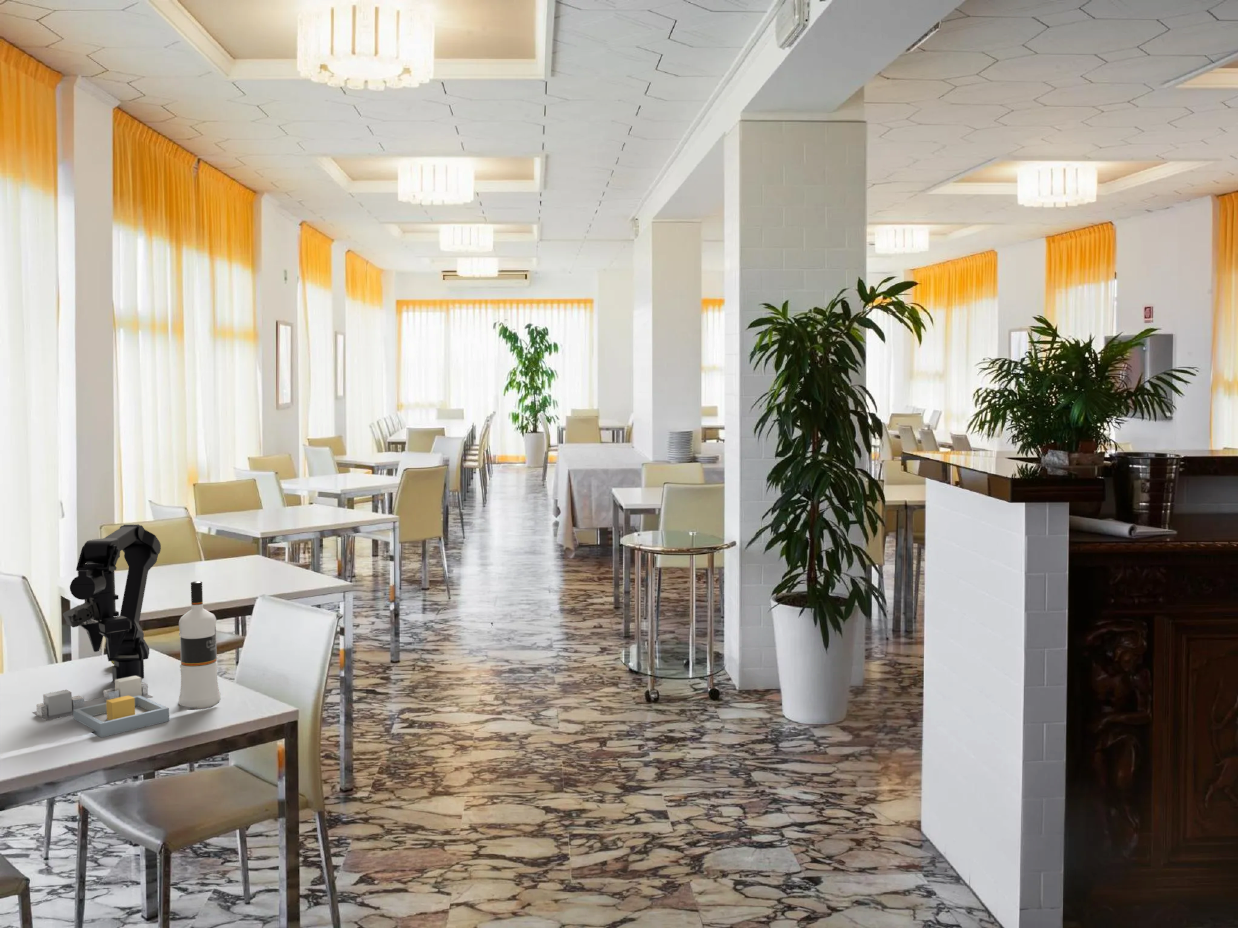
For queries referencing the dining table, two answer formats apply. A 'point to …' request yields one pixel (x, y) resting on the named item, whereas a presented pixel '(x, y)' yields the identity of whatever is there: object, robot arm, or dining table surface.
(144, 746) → the dining table surface
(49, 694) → the block
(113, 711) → the block
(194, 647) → the vodka
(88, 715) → the tray
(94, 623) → the robot arm
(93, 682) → the dining table surface
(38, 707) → the board
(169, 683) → the dining table surface
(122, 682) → the block
